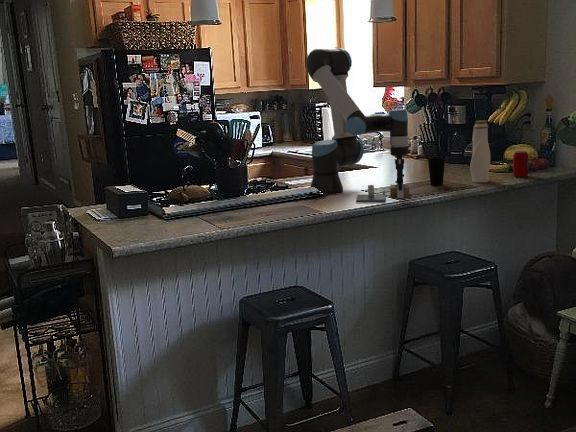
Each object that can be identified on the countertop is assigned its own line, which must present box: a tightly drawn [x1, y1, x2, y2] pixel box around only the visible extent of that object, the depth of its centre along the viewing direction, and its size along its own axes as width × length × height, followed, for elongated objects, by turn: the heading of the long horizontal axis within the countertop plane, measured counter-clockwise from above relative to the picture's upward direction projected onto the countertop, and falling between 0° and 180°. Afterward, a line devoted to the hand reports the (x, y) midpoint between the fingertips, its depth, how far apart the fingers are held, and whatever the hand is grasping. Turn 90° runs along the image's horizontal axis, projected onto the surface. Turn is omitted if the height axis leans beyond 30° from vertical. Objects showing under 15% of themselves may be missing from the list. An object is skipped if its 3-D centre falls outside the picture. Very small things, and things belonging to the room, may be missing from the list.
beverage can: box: [512, 150, 529, 178], centre depth 303 cm, size 7×7×12 cm
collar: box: [389, 183, 410, 198], centre depth 276 cm, size 8×8×4 cm
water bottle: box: [469, 119, 491, 183], centre depth 296 cm, size 10×9×28 cm
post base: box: [355, 184, 387, 203], centre depth 269 cm, size 12×12×6 cm
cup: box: [427, 157, 446, 187], centre depth 294 cm, size 8×8×12 cm
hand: (400, 194), depth 276 cm, fingers open, 13 cm apart
